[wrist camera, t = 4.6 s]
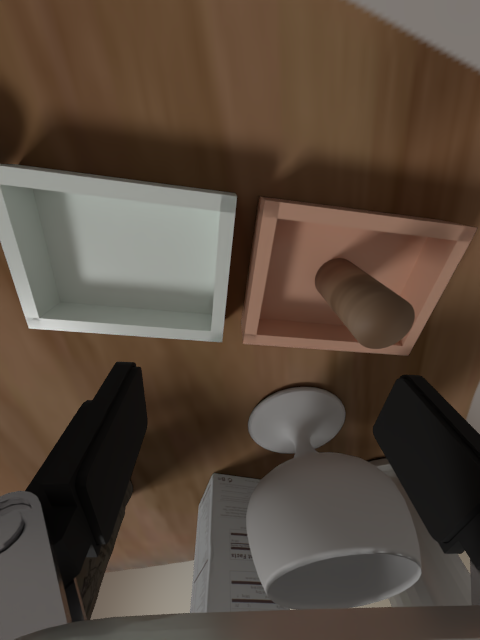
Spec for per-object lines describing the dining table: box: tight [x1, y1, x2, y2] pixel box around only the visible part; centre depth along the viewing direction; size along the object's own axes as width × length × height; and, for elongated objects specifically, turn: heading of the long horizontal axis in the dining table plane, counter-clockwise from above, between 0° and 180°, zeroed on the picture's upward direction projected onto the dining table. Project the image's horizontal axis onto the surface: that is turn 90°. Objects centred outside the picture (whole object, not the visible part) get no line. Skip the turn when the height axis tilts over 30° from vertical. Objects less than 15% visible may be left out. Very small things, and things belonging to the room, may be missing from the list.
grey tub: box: [0, 164, 237, 342], centre depth 20 cm, size 15×11×4 cm
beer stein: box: [76, 481, 133, 620], centre depth 28 cm, size 15×11×20 cm
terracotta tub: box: [241, 196, 478, 356], centre depth 21 cm, size 15×11×4 cm
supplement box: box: [190, 473, 290, 613], centre depth 33 cm, size 10×9×17 cm
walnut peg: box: [315, 258, 415, 349], centre depth 19 cm, size 4×4×8 cm
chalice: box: [246, 387, 422, 610], centre depth 26 cm, size 14×14×15 cm
